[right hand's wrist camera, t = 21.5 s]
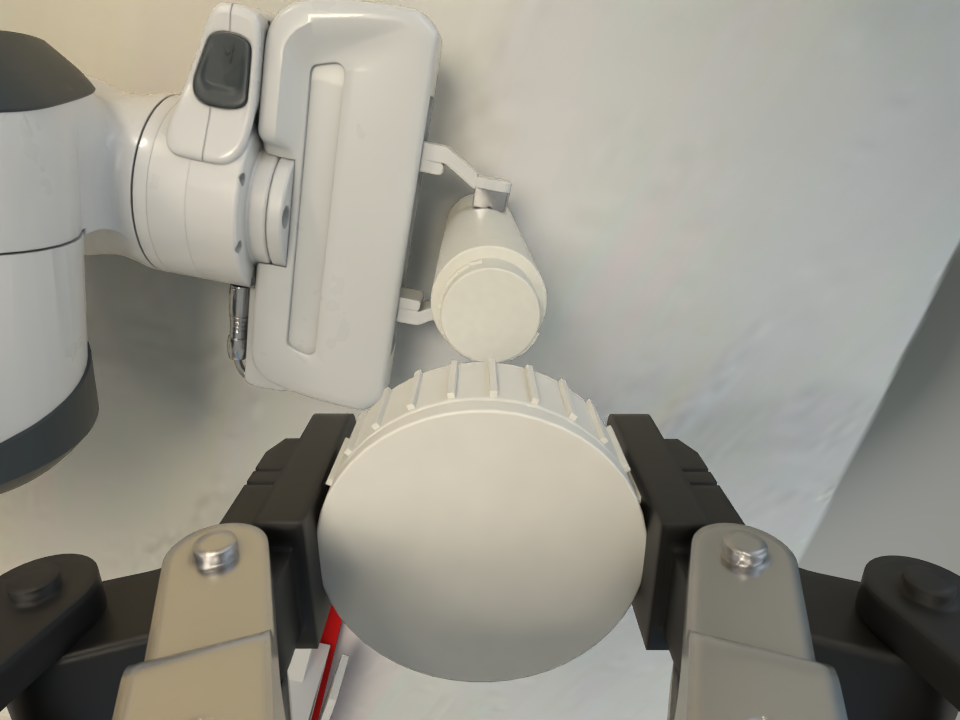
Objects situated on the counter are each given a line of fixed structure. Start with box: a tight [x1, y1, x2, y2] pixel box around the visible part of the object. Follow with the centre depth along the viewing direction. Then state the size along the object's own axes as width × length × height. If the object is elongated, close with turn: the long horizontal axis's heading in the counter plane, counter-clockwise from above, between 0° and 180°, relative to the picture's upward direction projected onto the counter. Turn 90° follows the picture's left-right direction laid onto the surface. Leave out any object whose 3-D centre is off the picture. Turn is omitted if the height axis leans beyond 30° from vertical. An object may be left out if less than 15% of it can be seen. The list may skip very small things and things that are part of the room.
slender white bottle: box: [431, 193, 547, 363], centre depth 30 cm, size 4×4×19 cm
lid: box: [317, 358, 647, 682], centre depth 10 cm, size 5×5×2 cm
